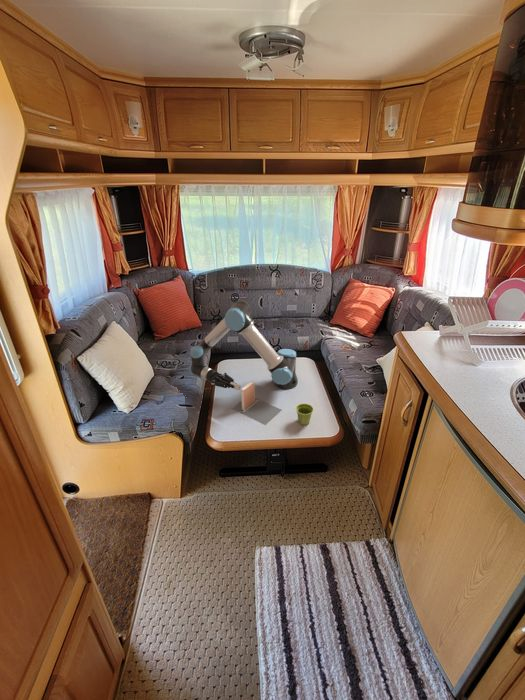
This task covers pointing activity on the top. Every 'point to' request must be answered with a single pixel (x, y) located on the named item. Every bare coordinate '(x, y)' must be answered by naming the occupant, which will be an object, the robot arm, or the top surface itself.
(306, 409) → the plant pot
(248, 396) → the tile
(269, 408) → the board
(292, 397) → the top surface
